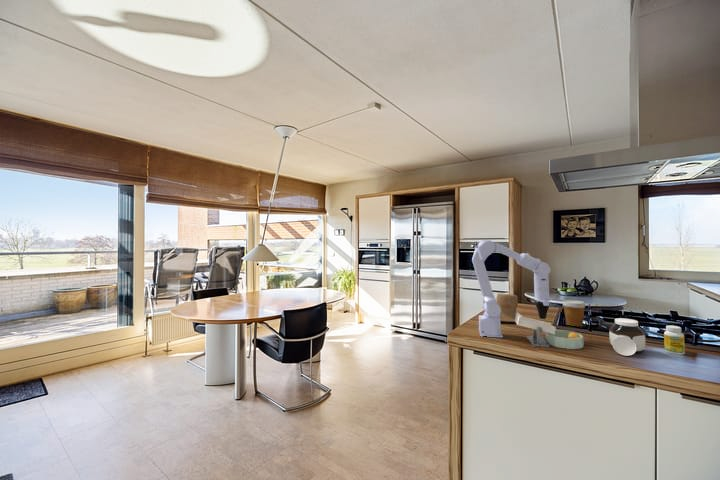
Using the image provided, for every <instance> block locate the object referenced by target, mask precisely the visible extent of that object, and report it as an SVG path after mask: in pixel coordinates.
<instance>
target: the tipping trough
mask: <svg viewBox="0 0 720 480" xmlns="http://www.w3.org/2000/svg"><path fill="white" fill-rule="evenodd" d="M514 323H515V324H516V325H517V326H520V327H524V328H529V329H532V330H533V329H536V331H538V327H541V328H542V332H544V333H546V332H548V333H552V334H555V330H557V327H556V326H553V325H552V324H553V323H552V322H546V321H544V320H543V321H542V320H538V319H534V318H531V317H526V316H523V315H522V314H520V312H516V317H515V322H514Z"/></svg>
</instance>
